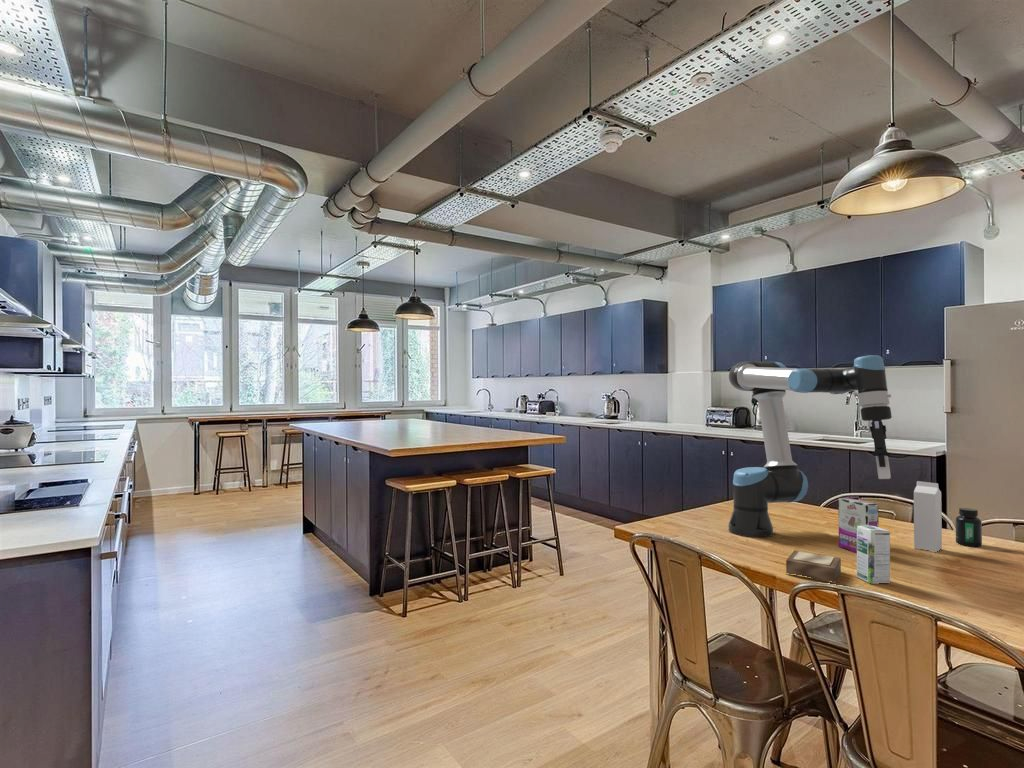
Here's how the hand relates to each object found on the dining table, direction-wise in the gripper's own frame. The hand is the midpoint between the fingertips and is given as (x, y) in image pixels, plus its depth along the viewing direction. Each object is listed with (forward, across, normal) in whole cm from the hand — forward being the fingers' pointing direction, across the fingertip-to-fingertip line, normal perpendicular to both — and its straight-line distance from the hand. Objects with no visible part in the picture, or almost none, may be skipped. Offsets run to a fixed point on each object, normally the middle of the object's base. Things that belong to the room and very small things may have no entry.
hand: (885, 478), depth 159 cm
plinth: (+26, -14, +20) cm, 36 cm away
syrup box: (+28, -12, +6) cm, 30 cm away
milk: (+24, +35, -8) cm, 43 cm away
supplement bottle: (+24, +49, -20) cm, 58 cm away
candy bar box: (+24, +18, +10) cm, 32 cm away
